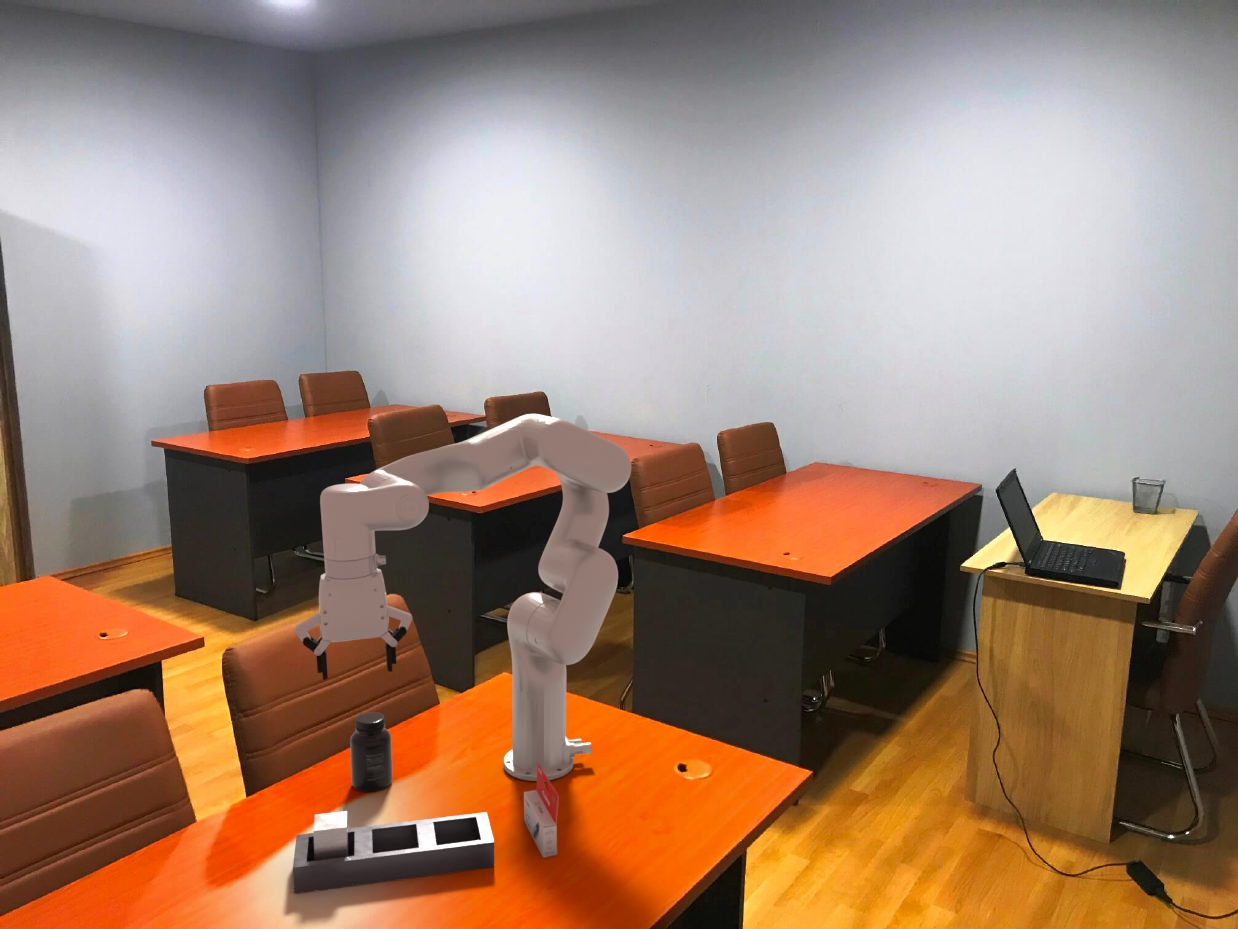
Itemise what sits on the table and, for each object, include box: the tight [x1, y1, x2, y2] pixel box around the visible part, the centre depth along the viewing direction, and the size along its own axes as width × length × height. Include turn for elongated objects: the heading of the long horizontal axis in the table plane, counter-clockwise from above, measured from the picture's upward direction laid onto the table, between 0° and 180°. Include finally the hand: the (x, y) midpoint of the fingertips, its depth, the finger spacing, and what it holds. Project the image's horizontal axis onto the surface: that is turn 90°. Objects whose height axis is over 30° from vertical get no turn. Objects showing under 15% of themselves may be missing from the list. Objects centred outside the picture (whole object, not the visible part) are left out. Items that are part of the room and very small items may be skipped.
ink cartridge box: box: [523, 763, 560, 858], centre depth 148 cm, size 2×11×10 cm, turn 21°
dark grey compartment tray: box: [292, 811, 495, 894], centre depth 141 cm, size 28×8×4 cm, turn 105°
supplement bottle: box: [349, 711, 393, 793], centre depth 163 cm, size 7×7×12 cm
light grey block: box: [313, 810, 349, 861], centre depth 138 cm, size 4×4×8 cm
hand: (357, 672), depth 148 cm, fingers open, 9 cm apart
